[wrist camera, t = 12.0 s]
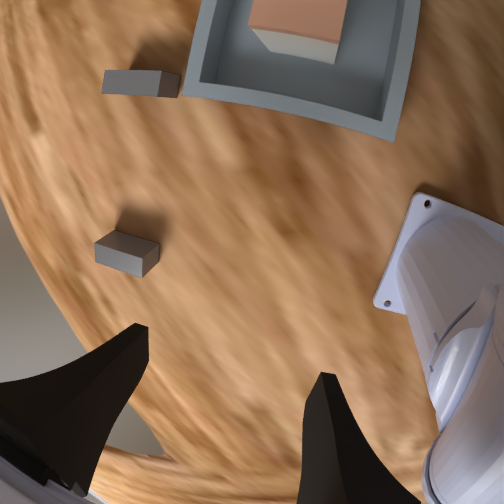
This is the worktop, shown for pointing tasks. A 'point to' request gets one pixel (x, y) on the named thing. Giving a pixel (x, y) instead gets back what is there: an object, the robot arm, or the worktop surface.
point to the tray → (309, 66)
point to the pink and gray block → (299, 27)
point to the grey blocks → (117, 243)
